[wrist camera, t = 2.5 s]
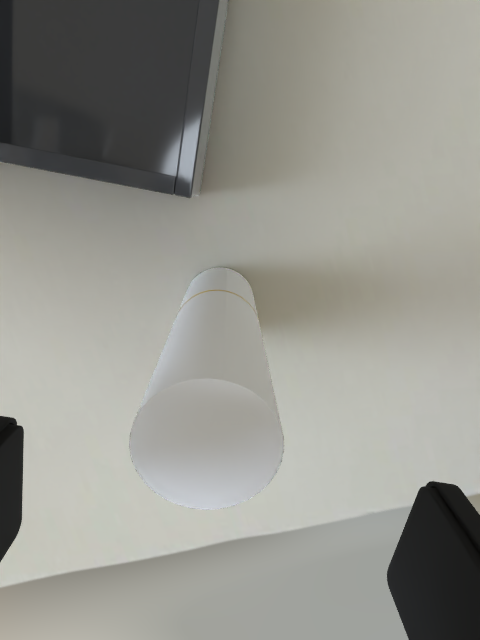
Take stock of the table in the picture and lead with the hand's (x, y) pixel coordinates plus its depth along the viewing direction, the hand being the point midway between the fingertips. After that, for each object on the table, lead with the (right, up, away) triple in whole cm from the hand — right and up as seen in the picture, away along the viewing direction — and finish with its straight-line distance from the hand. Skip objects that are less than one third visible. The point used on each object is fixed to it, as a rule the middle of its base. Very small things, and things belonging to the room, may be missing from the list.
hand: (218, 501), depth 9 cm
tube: (-1, +5, +16) cm, 17 cm away
